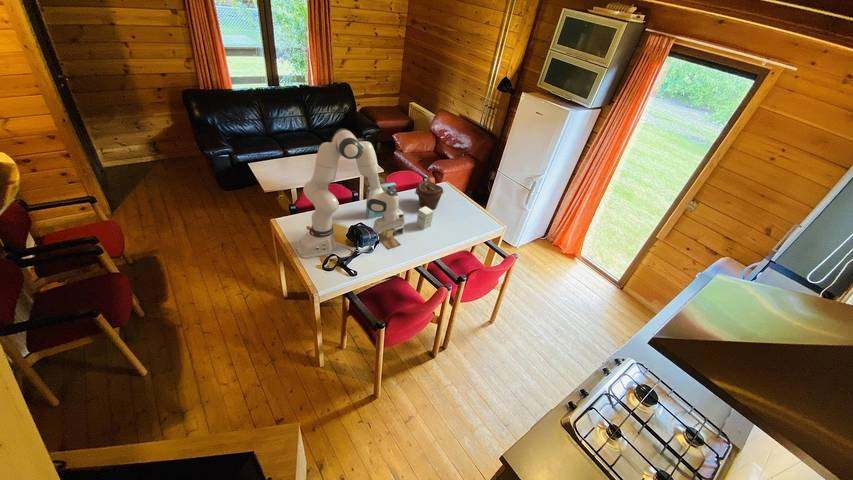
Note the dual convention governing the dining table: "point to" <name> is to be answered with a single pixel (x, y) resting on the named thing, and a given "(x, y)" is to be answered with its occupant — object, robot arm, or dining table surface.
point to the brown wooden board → (388, 241)
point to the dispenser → (399, 228)
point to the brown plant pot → (428, 194)
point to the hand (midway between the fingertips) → (388, 233)
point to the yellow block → (389, 232)
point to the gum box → (385, 186)
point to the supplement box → (424, 217)
